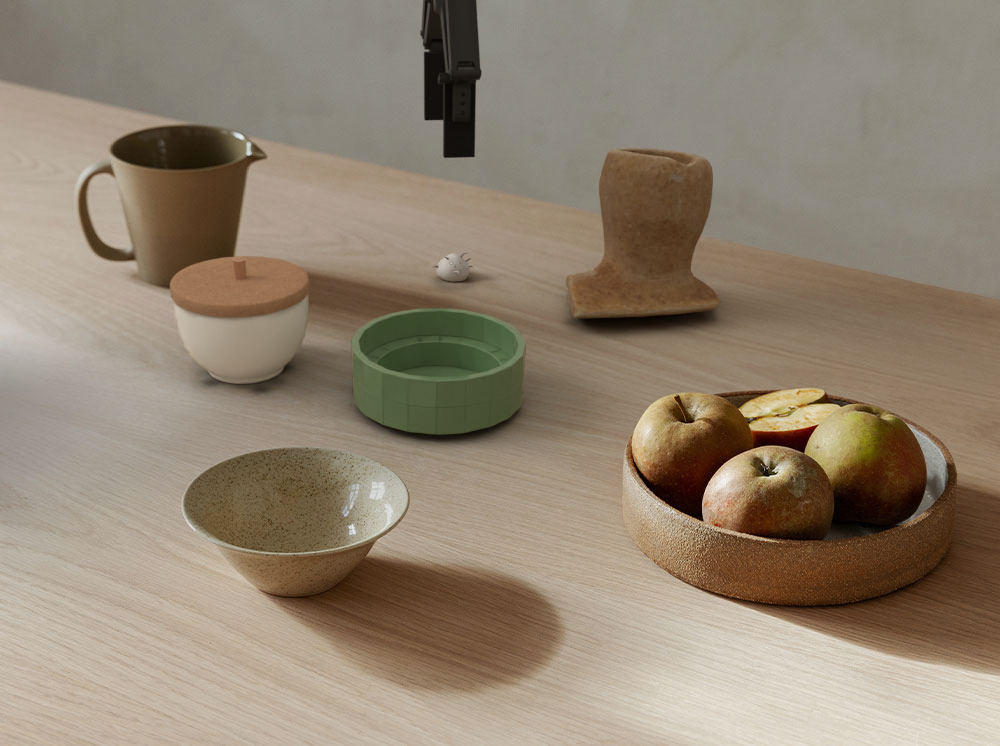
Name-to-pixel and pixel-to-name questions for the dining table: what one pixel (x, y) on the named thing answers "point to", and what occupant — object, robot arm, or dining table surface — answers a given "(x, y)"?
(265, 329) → the lidded sugar bowl
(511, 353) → the green bowl
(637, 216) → the stone cup
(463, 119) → the robot arm
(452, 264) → the white garlic bulb
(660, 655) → the dining table surface
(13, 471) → the dining table surface
